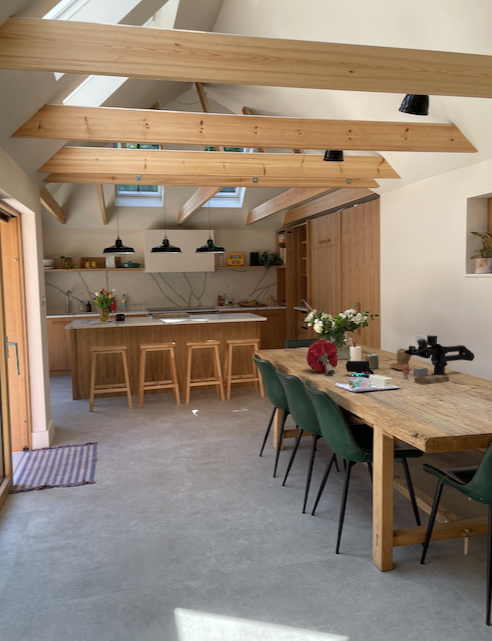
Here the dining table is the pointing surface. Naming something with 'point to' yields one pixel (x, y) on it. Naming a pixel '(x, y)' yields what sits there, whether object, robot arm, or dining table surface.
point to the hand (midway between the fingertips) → (408, 352)
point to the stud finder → (420, 372)
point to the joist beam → (431, 379)
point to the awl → (405, 371)
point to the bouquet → (322, 356)
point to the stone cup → (401, 359)
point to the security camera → (358, 367)
